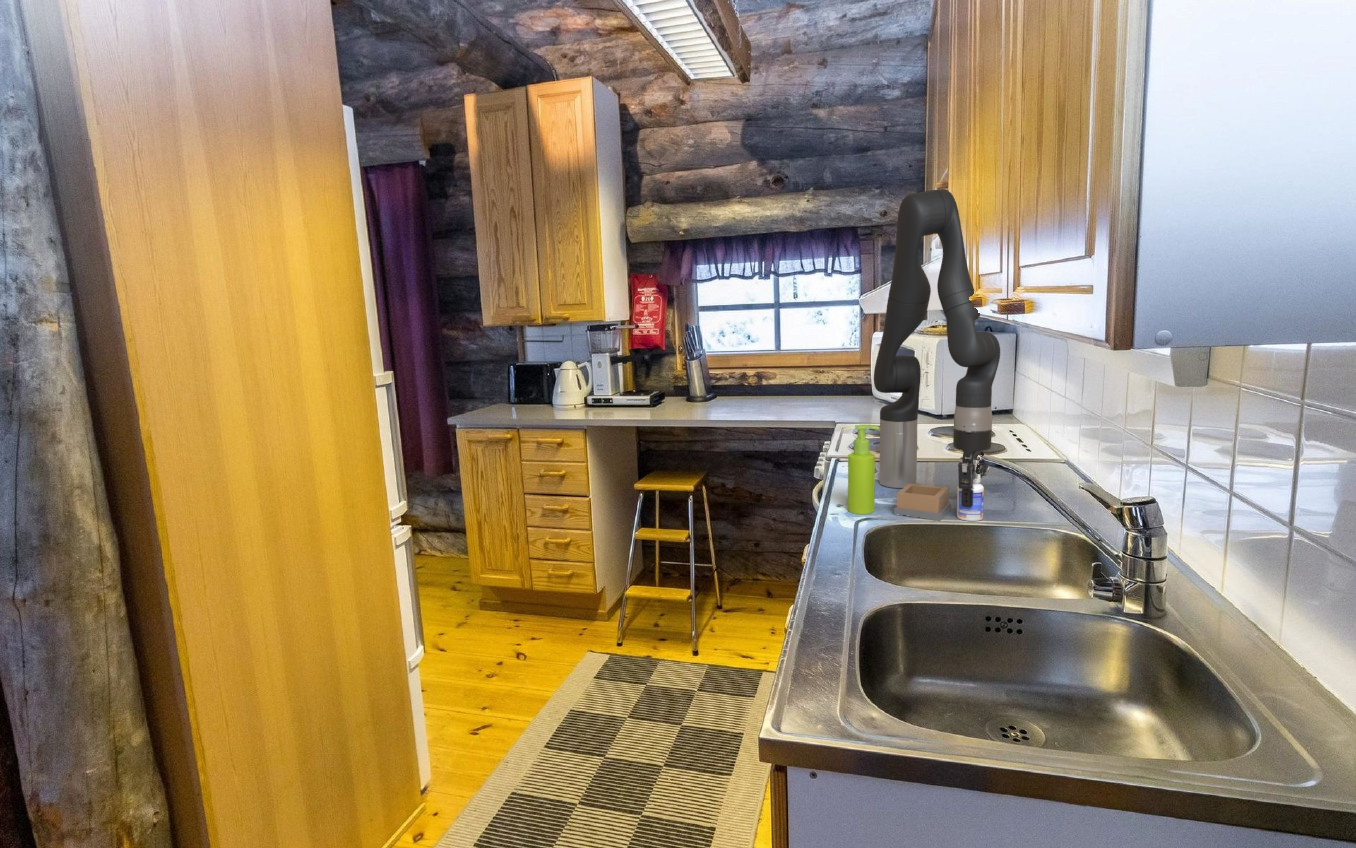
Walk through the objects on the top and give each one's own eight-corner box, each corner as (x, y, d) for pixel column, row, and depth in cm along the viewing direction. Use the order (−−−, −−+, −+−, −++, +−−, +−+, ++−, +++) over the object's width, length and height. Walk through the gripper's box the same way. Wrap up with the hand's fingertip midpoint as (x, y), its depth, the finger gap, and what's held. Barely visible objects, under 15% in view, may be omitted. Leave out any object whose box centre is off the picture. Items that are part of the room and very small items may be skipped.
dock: (906, 503, 165) (907, 482, 164) (951, 508, 159) (951, 487, 158) (893, 514, 157) (894, 493, 156) (940, 521, 151) (940, 498, 150)
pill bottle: (987, 521, 150) (989, 477, 148) (962, 522, 150) (963, 478, 148) (976, 513, 155) (977, 471, 153) (952, 514, 155) (953, 472, 153)
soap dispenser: (880, 514, 157) (880, 427, 154) (848, 514, 159) (848, 427, 155) (878, 507, 163) (878, 422, 159) (847, 506, 164) (847, 423, 161)
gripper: (961, 420, 157) (959, 492, 160) (946, 431, 145) (943, 509, 148) (997, 422, 153) (994, 496, 156) (984, 433, 141) (981, 514, 144)
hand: (970, 502), depth 152 cm, fingers closed on pill bottle, 5 cm apart
